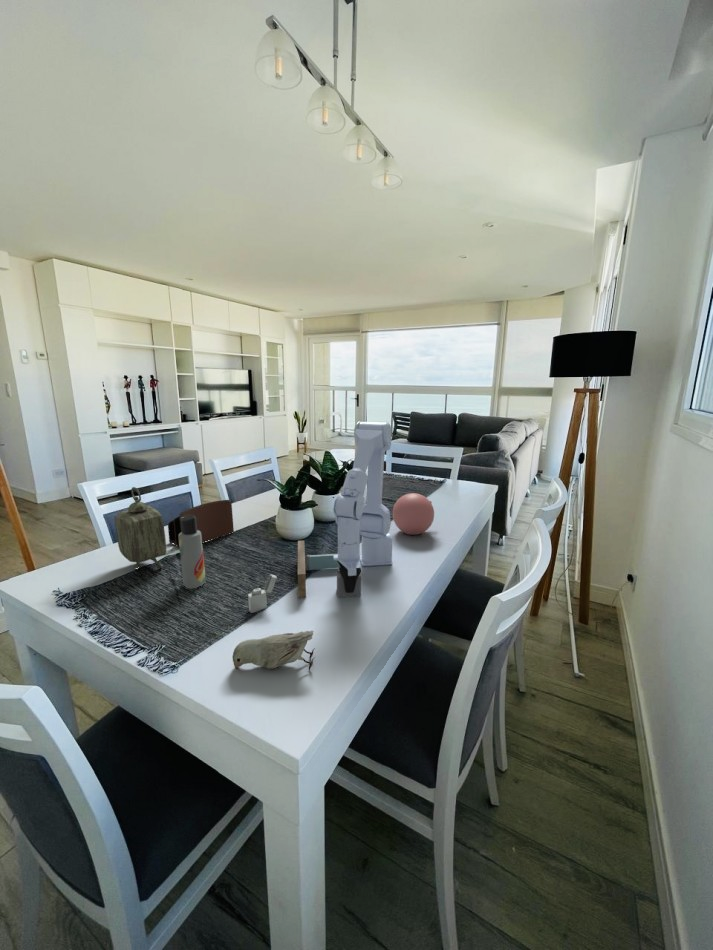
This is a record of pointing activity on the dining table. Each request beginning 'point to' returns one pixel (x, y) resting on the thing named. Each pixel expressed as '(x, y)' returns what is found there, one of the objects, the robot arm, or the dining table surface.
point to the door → (321, 562)
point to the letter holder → (206, 521)
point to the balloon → (413, 513)
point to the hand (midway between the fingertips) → (348, 587)
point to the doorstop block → (341, 587)
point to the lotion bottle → (191, 553)
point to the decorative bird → (273, 650)
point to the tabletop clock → (140, 532)
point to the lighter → (261, 595)
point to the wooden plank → (301, 570)
